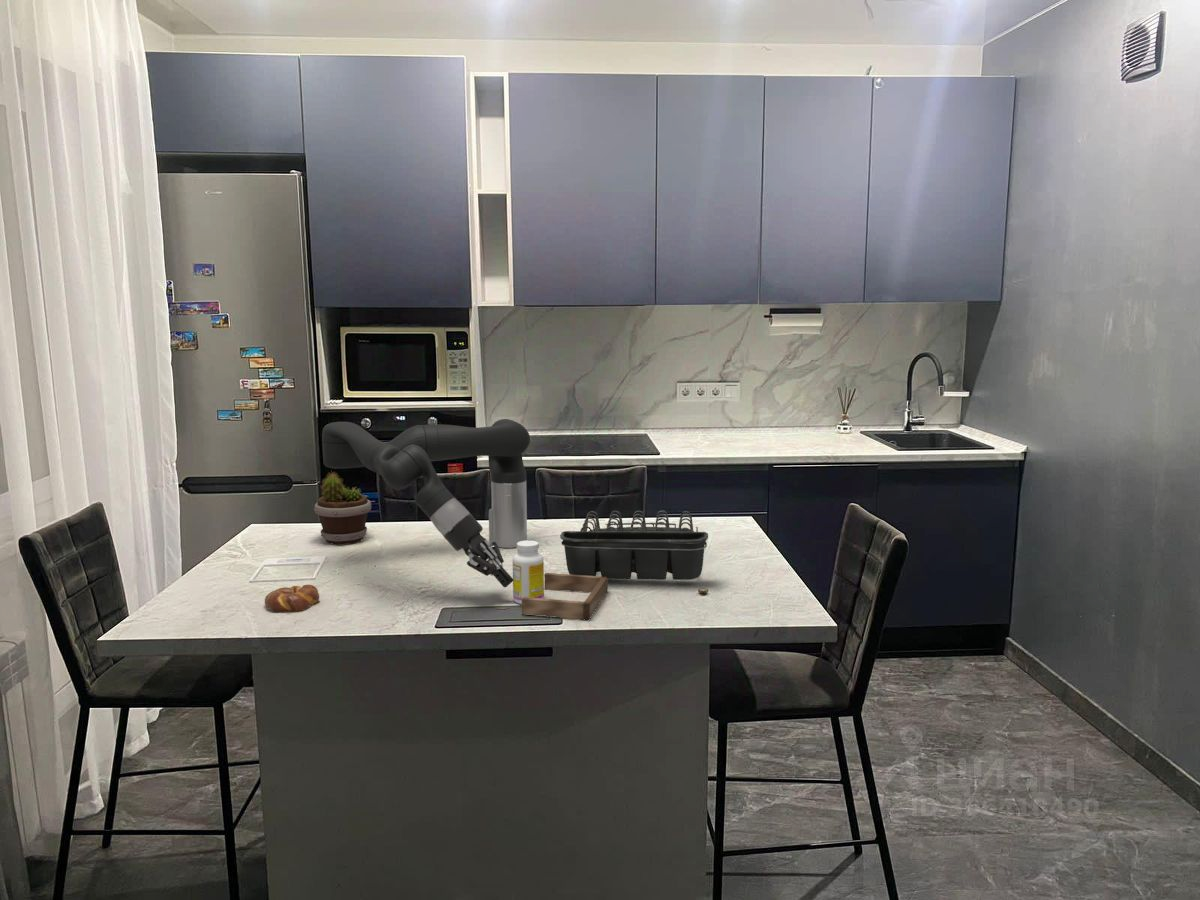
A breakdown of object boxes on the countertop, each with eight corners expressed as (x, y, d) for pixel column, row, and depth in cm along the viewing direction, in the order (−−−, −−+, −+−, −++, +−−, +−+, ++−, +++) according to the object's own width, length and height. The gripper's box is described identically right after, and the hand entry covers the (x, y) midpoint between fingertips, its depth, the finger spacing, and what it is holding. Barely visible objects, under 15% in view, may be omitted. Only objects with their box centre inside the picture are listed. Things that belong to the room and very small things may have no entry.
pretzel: (298, 593, 198) (297, 577, 198) (332, 601, 193) (332, 585, 192) (252, 608, 188) (251, 591, 188) (287, 617, 183) (286, 600, 182)
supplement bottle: (547, 596, 195) (547, 539, 193) (539, 606, 189) (538, 548, 187) (518, 594, 196) (517, 538, 194) (509, 604, 190) (508, 546, 188)
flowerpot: (347, 530, 251) (344, 460, 248) (384, 539, 242) (381, 466, 239) (304, 541, 240) (300, 468, 236) (340, 550, 231) (337, 475, 227)
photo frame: (326, 555, 224) (314, 577, 207) (326, 559, 224) (315, 581, 207) (265, 557, 222) (248, 579, 204) (266, 562, 222) (249, 584, 205)
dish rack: (557, 586, 203) (557, 535, 201) (580, 536, 246) (580, 494, 244) (707, 591, 200) (708, 539, 198) (704, 540, 243) (705, 496, 241)
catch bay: (521, 615, 184) (521, 598, 183) (546, 587, 201) (545, 572, 201) (588, 620, 181) (588, 604, 180) (607, 592, 198) (607, 576, 198)
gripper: (456, 527, 199) (507, 585, 199) (432, 542, 187) (486, 604, 186) (479, 506, 197) (530, 564, 197) (455, 520, 185) (511, 582, 184)
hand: (509, 584), depth 191 cm, fingers closed
